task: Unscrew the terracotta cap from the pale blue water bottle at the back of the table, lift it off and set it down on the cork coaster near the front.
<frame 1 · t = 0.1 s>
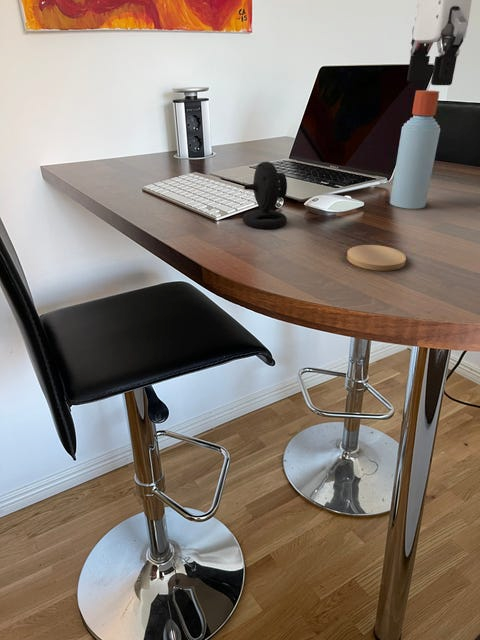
hand: (427, 83, 83), 21 cm above the table, tool pointing down, fingers open, 9 cm apart
bottle: (407, 204, 97), on the table
coaster: (375, 259, 70), on the table
cap: (427, 93, 87), point 20 cm above the table, screwed on, not yet turned
webcam: (264, 223, 85), on the table
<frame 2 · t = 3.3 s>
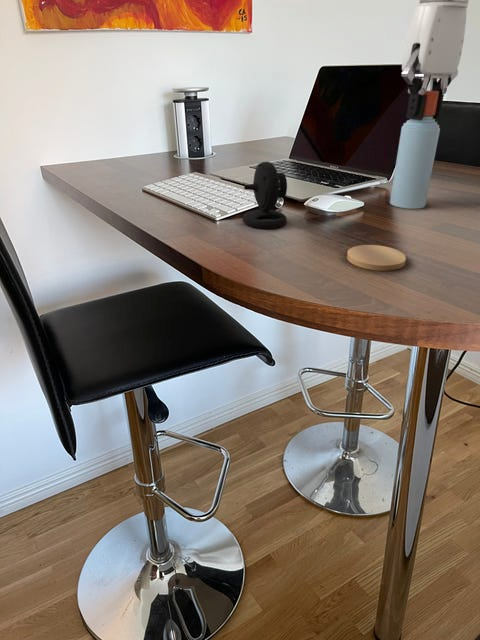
hand: (422, 117, 89), 16 cm above the table, tool pointing down, fingers closed on bottle, 3 cm apart
bottle: (407, 204, 97), on the table, touching gripper
cap: (426, 93, 87), point 20 cm above the table, screwed on, not yet turned, touching gripper
everything else where it was.
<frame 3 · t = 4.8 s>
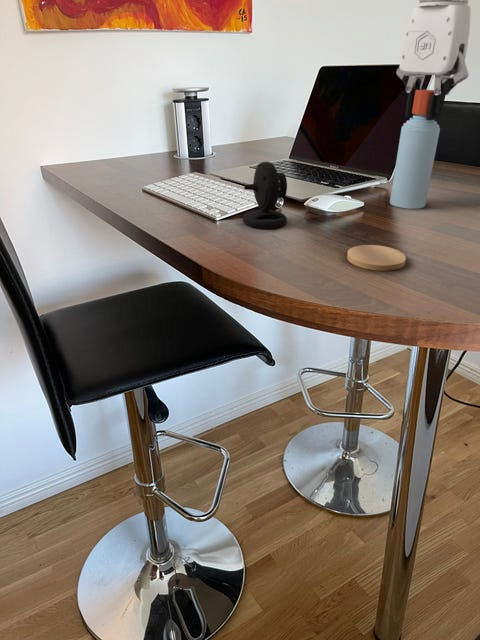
hand: (422, 117, 89), 16 cm above the table, tool pointing down, fingers closed on cap, 3 cm apart
bottle: (407, 204, 97), on the table
cap: (426, 92, 87), point 20 cm above the table, turned 89° so far, risen 0.1 cm, still on its thread, touching gripper
everything else where it was.
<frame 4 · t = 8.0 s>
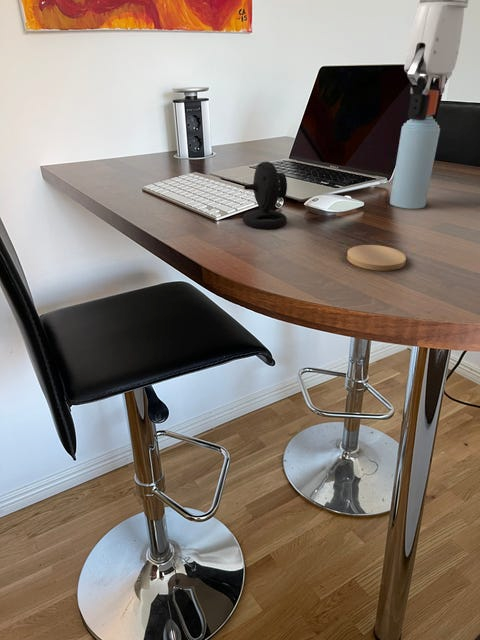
hand: (422, 117, 89), 16 cm above the table, tool pointing down, fingers closed on cap, 3 cm apart
cap: (427, 92, 87), point 20 cm above the table, turned 99° so far, risen 0.1 cm, still on its thread, touching gripper
everything else where it was.
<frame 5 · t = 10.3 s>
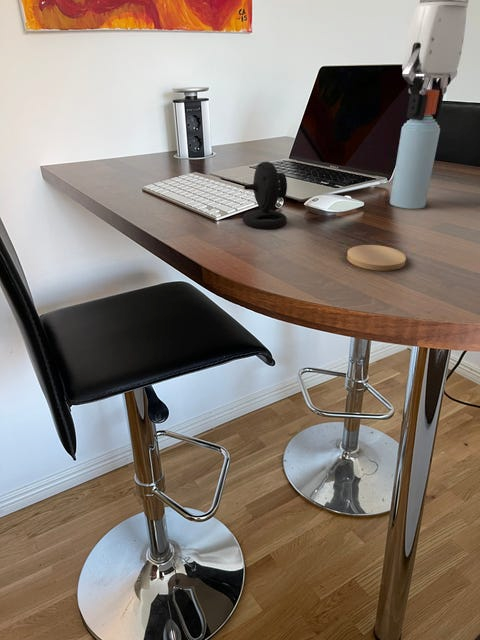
hand: (422, 117, 89), 16 cm above the table, tool pointing down, fingers closed on cap, 3 cm apart
cap: (427, 92, 87), point 20 cm above the table, turned 180° so far, risen 0.2 cm, still on its thread, touching gripper
everything else where it was.
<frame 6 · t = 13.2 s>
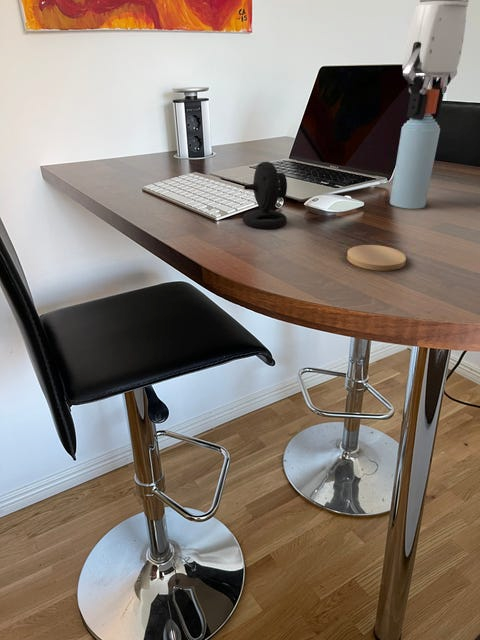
hand: (423, 116, 89), 16 cm above the table, tool pointing down, fingers closed on cap, 3 cm apart
cap: (427, 91, 87), point 20 cm above the table, turned 271° so far, risen 0.3 cm, still on its thread, touching gripper
everything else where it was.
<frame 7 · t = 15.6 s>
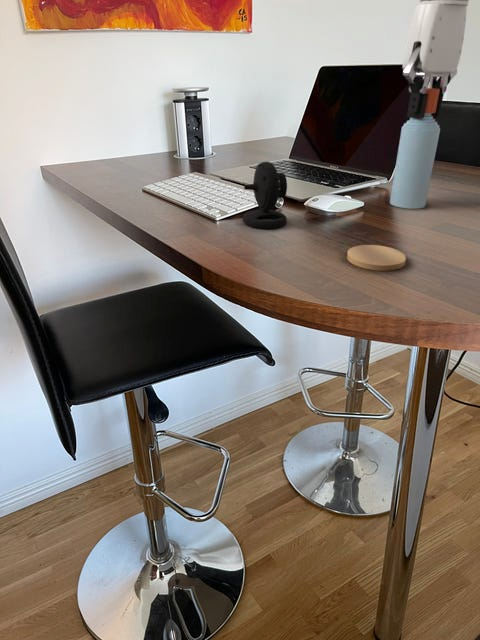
hand: (423, 116, 89), 16 cm above the table, tool pointing down, fingers closed on cap, 3 cm apart
cap: (427, 91, 87), point 20 cm above the table, turned 362° so far, risen 0.4 cm, still on its thread, touching gripper
everything else where it was.
when the fingers open (2 cm above the table, at t = 26.6 s): cap drops 2 cm, resting on coaster.
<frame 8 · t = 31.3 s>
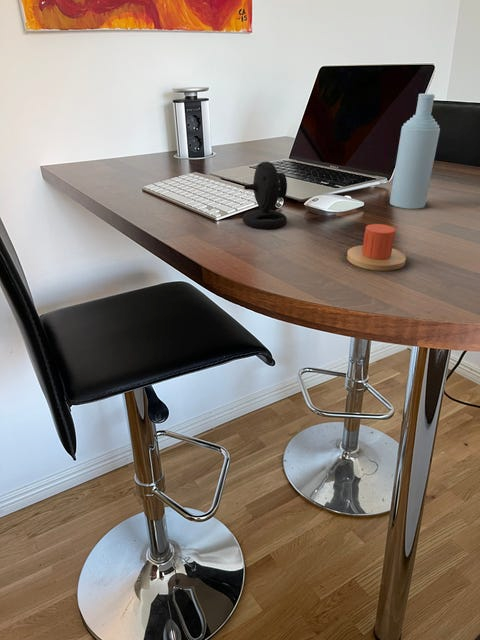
cap: (380, 231, 68), point 4 cm above the table, off its thread, touching coaster
everything else where it was.
at the end: cap inside the target area on the coaster (0.0 cm from its centre), point 4.2 cm above the coaster's base; the gripper is holding nothing; bottle tilted 0° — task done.
